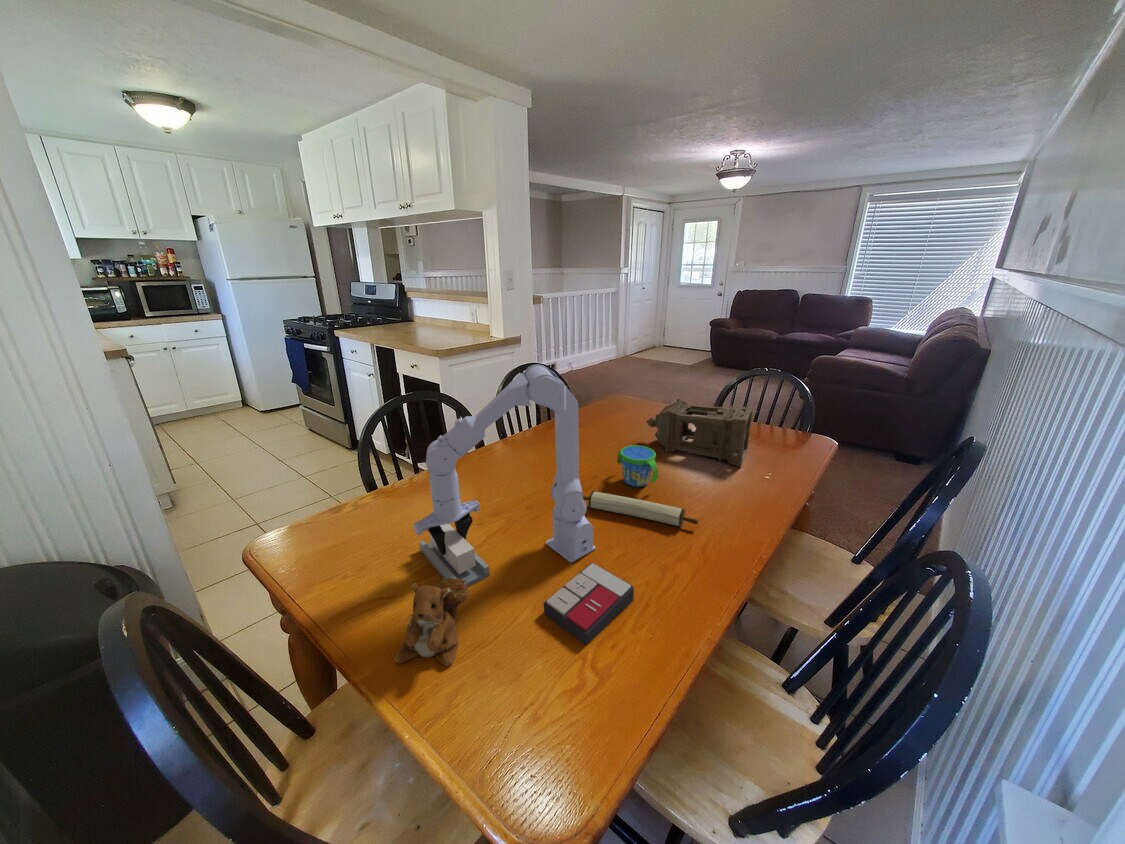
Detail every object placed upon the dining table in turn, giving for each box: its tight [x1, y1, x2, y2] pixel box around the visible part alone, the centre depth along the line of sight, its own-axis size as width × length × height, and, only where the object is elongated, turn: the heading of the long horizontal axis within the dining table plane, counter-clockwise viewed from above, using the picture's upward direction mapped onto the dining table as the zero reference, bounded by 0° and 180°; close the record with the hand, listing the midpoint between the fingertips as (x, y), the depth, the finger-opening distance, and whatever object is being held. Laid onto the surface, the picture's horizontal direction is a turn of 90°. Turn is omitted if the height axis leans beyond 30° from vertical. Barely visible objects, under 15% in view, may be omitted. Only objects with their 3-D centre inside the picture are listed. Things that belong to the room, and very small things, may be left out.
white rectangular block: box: [429, 523, 476, 574], centre depth 95 cm, size 14×4×4 cm, turn 40°
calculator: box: [543, 562, 635, 645], centre depth 84 cm, size 11×4×15 cm
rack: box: [418, 539, 490, 588], centre depth 96 cm, size 18×8×2 cm, turn 40°
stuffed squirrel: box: [394, 578, 470, 668], centre depth 75 cm, size 10×14×13 cm
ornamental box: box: [646, 398, 754, 469], centre depth 151 cm, size 35×18×18 cm, turn 60°
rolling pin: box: [582, 490, 699, 529], centre depth 113 cm, size 32×6×5 cm, turn 67°
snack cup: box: [616, 444, 659, 488], centre depth 130 cm, size 16×10×10 cm
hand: (451, 548), depth 96 cm, fingers closed on white rectangular block, 4 cm apart
